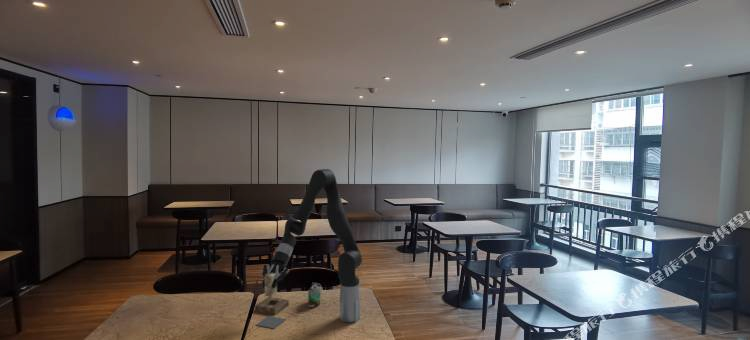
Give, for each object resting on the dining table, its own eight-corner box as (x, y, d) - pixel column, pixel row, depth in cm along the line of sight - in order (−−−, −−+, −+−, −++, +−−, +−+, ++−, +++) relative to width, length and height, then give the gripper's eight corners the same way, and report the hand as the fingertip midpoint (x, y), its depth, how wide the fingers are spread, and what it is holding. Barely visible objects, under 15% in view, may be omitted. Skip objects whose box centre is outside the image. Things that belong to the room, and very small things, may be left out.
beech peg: (276, 293, 181) (276, 273, 180) (272, 297, 177) (271, 275, 176) (269, 292, 182) (269, 272, 182) (264, 295, 178) (264, 274, 178)
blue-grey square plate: (286, 319, 183) (286, 319, 183) (274, 329, 174) (274, 328, 174) (268, 316, 187) (268, 315, 187) (255, 325, 177) (255, 324, 177)
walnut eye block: (288, 305, 200) (288, 299, 200) (275, 314, 189) (275, 308, 189) (269, 302, 204) (269, 296, 204) (255, 311, 193) (255, 305, 193)
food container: (319, 309, 195) (320, 290, 195) (308, 309, 195) (308, 290, 195) (323, 300, 208) (323, 282, 207) (312, 300, 208) (312, 282, 207)
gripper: (267, 249, 188) (251, 281, 177) (292, 252, 183) (278, 285, 172) (273, 256, 193) (259, 288, 182) (298, 259, 189) (284, 292, 178)
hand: (268, 286), depth 177 cm, fingers closed on beech peg, 4 cm apart
